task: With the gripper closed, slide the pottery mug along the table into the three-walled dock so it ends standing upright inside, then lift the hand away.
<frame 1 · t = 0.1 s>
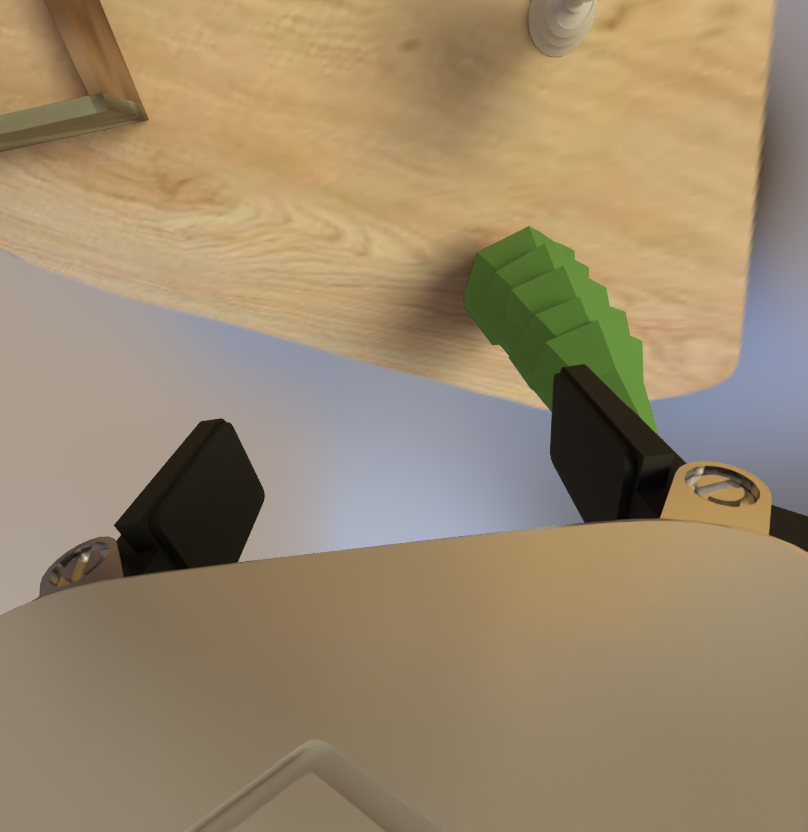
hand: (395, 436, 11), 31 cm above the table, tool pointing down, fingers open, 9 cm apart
decorative tree: (501, 270, 39), on the table
chalice: (561, 13, 29), on the table
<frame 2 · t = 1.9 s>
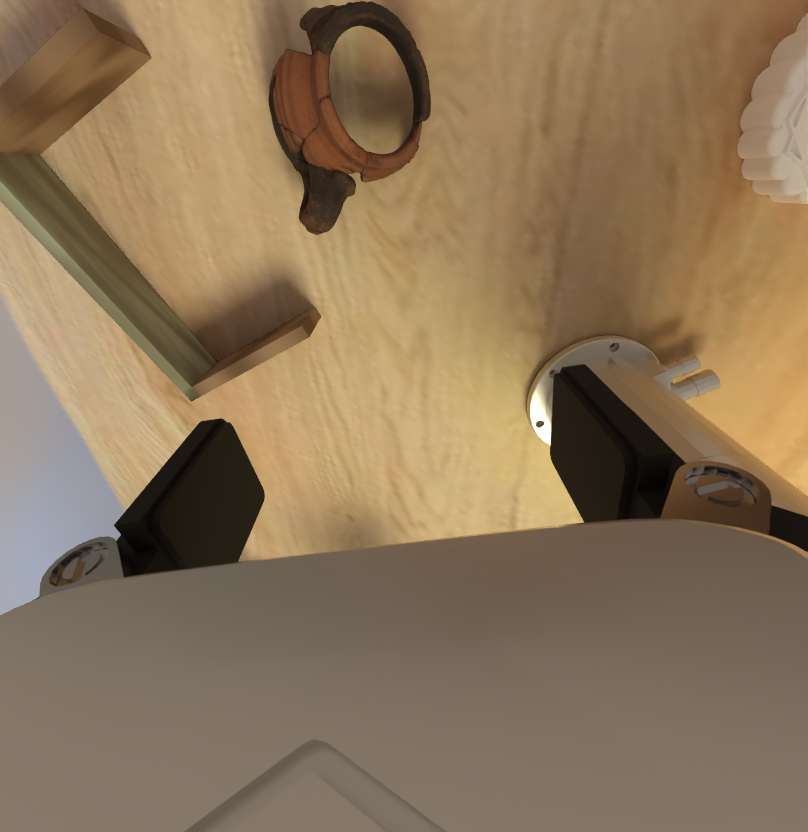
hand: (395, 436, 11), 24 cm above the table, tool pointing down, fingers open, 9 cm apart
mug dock: (199, 231, 30), on the table
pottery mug: (344, 137, 27), on the table
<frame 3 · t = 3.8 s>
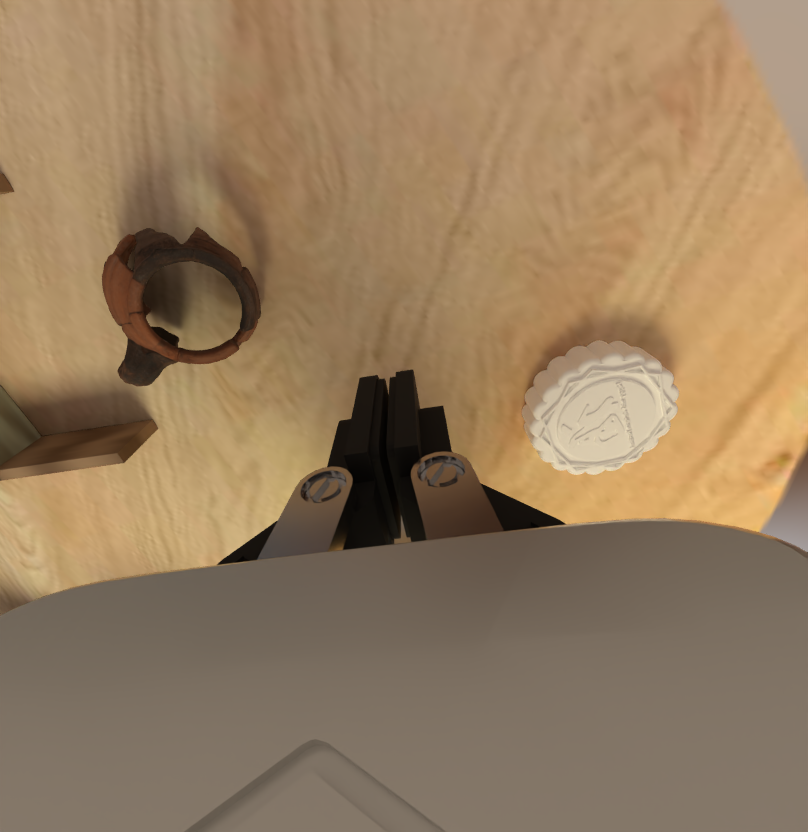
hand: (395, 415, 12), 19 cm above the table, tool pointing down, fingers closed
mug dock: (41, 332, 30), on the table
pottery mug: (193, 298, 29), on the table
mooncake: (587, 401, 34), on the table
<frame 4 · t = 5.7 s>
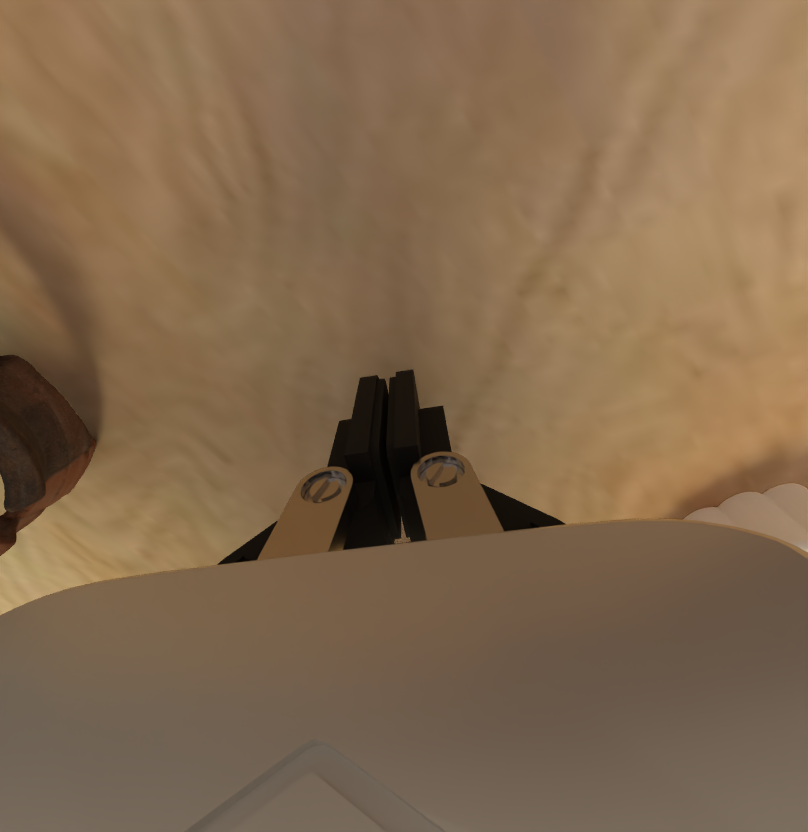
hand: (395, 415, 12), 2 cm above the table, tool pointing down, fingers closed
mooncake: (735, 565, 19), on the table
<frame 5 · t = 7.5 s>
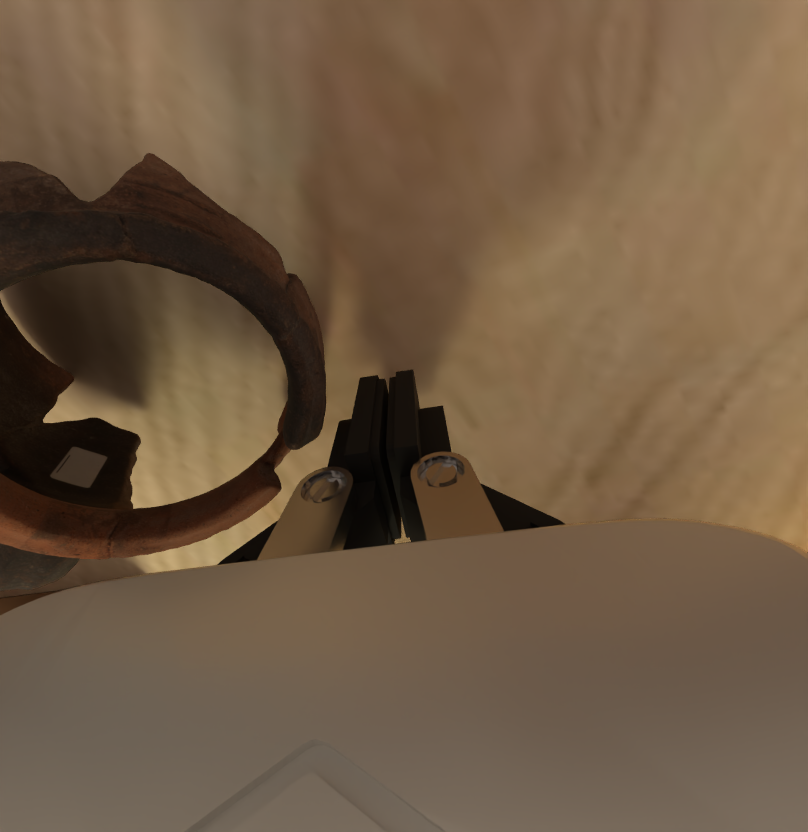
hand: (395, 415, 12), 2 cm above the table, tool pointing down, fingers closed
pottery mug: (167, 348, 13), on the table, touching gripper
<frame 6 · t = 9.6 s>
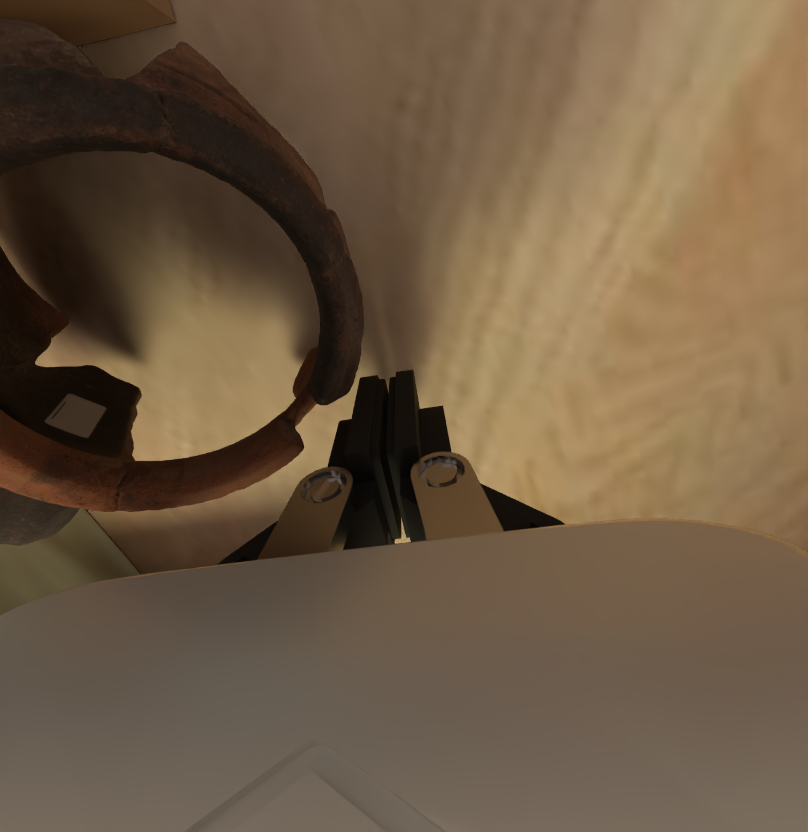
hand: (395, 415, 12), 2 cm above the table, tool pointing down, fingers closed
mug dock: (179, 400, 13), on the table
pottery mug: (176, 294, 12), on the table, touching gripper
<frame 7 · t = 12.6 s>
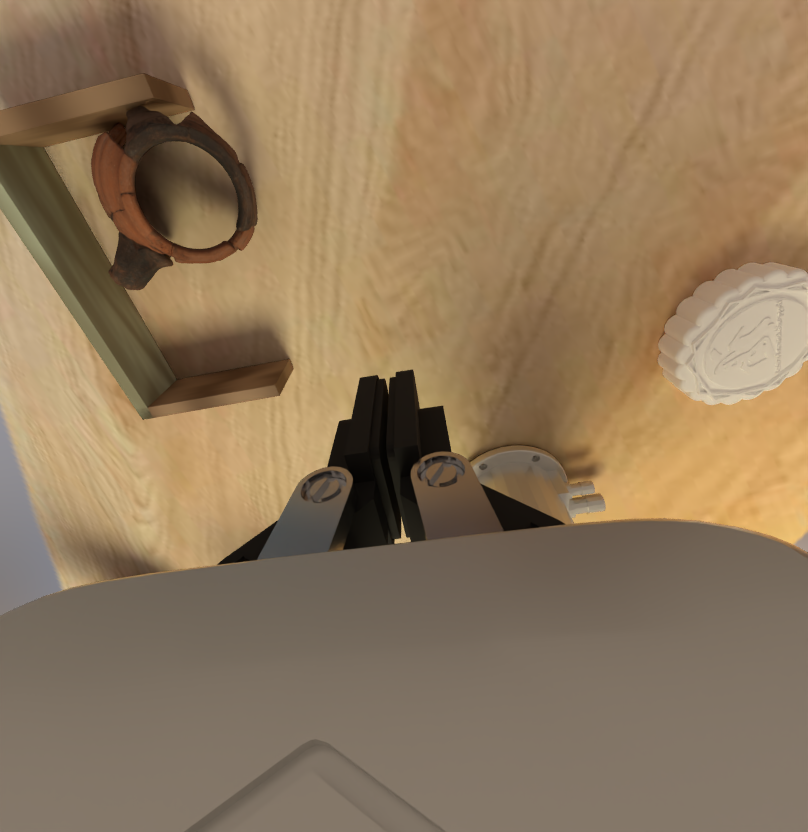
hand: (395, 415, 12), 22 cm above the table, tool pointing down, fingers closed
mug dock: (196, 266, 30), on the table
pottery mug: (187, 204, 28), on the table, touching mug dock
mooncake: (724, 330, 34), on the table
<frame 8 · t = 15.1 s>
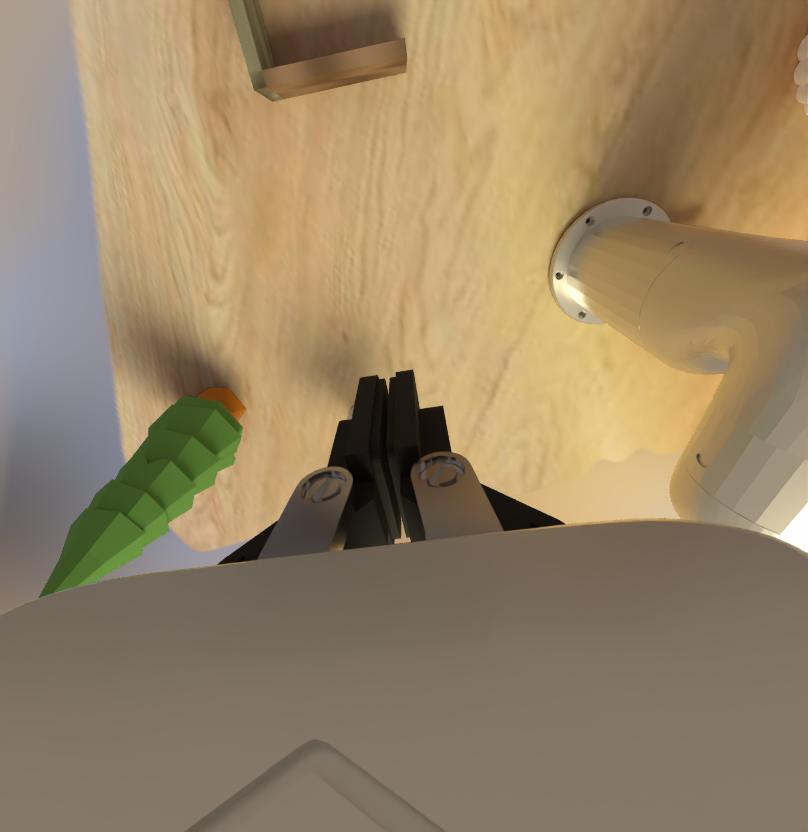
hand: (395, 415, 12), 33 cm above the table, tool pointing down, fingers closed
decorative tree: (225, 406, 50), on the table
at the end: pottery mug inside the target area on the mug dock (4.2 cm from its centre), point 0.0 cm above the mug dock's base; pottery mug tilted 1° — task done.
